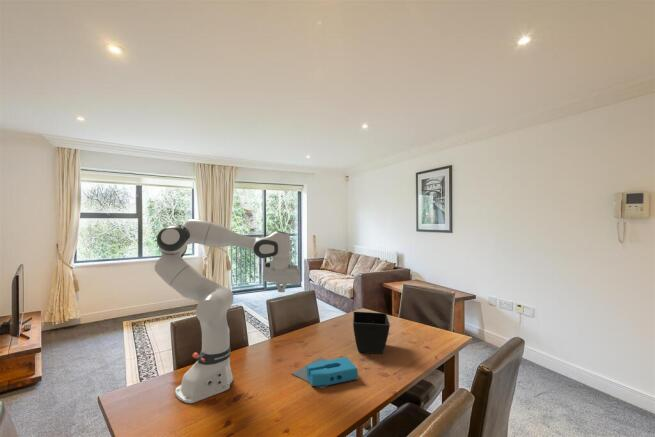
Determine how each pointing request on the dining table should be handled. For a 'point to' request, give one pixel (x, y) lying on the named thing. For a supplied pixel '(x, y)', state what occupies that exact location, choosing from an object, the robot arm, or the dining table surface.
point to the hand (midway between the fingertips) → (281, 292)
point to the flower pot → (370, 331)
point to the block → (331, 372)
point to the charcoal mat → (303, 372)
